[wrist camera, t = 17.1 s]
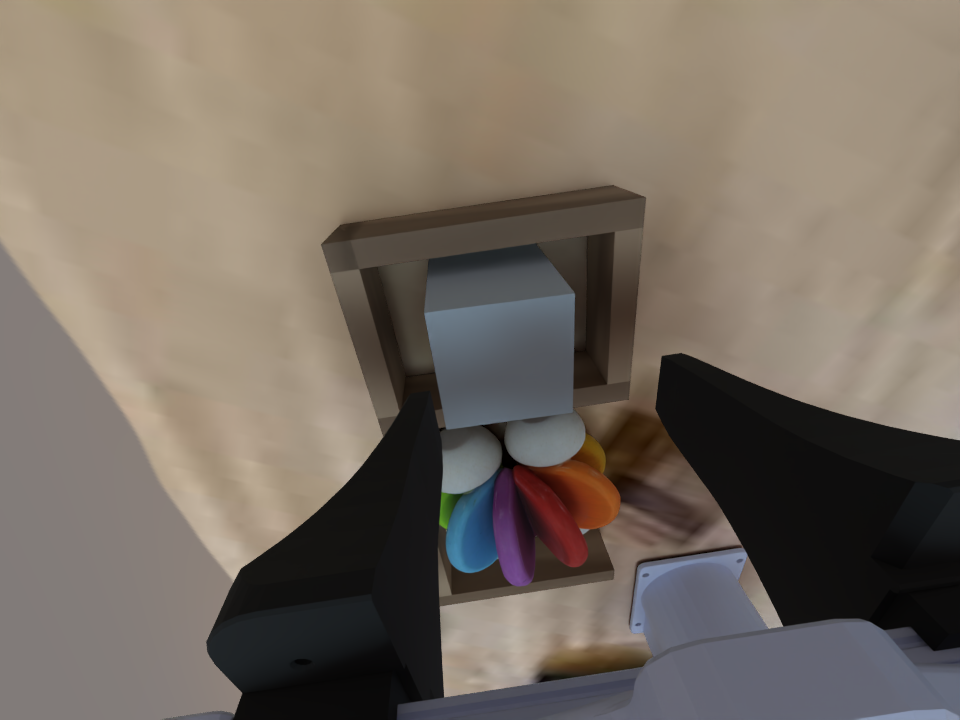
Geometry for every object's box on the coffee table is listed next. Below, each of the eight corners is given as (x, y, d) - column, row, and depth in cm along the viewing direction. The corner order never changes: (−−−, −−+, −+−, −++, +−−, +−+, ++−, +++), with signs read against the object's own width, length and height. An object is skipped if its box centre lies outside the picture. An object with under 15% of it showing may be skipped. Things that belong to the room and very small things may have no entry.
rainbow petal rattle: (604, 479, 25) (658, 597, 19) (457, 521, 26) (462, 648, 20) (579, 371, 21) (638, 477, 15) (403, 426, 22) (389, 549, 15)
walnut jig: (597, 536, 28) (613, 579, 25) (438, 561, 28) (438, 606, 25) (612, 185, 16) (645, 197, 14) (340, 224, 16) (320, 244, 13)
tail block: (537, 335, 19) (572, 412, 14) (444, 347, 19) (446, 429, 14) (534, 241, 17) (575, 293, 12) (429, 255, 17) (424, 312, 12)
